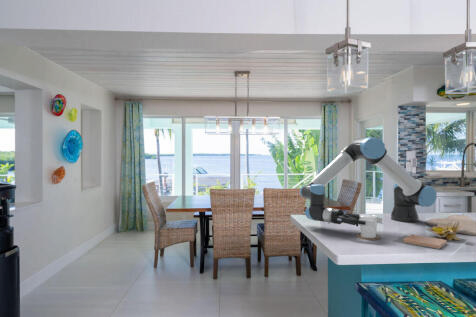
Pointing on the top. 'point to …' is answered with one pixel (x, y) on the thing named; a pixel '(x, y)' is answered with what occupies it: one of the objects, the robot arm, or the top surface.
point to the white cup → (366, 230)
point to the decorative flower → (447, 230)
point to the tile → (425, 241)
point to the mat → (400, 240)
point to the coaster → (368, 238)
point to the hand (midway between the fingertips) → (377, 222)
